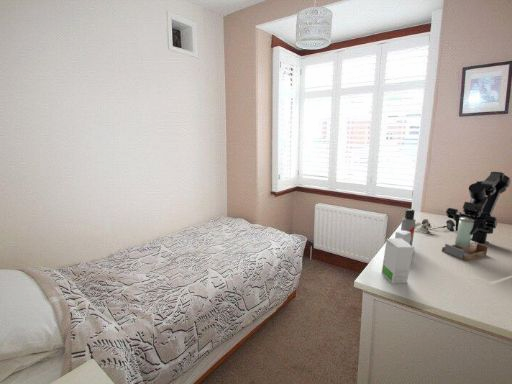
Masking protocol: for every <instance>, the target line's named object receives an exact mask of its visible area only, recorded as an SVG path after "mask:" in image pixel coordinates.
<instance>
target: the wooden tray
mask: <svg viewBox="0 0 512 384" xmlns="http://www.w3.org/2000/svg"><path fill="white" fill-rule="evenodd" d="M450 245H451V246H453V247H456V248H458V249H461V250H462V249H463V247H460V246H457V245H455V243H454V244H450ZM488 249H489V247H488V245H485V244H480V243H478V244H477V248H476V253H474V254H468V253H465V254H464V258H463V259H461V258H458V257H456V256H454V255H451V254H449V253H447V252H444V250H445V246H443V247H441V252H443V253H445V254H447V255H449V256H452V257H454V258H457V259H459V260H462V261H464V262H466V261H470V260H475V259H478V258H481V257H485V256H487V252H488Z"/></svg>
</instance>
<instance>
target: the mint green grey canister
mask: <svg viewBox="0 0 512 384" xmlns="http://www.w3.org/2000/svg"><path fill="white" fill-rule="evenodd" d="M474 221H475V220H474V219H473V218H469V217H460V218H459V224H458V229H457V231H456V237H455V241H454V244H455V245H457V246H460V247H465V248H468V247H469V245H470V240H471V238H472V235H470V233H471V231H472V229H473V225H474Z"/></svg>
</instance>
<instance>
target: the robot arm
mask: <svg viewBox="0 0 512 384" xmlns="http://www.w3.org/2000/svg"><path fill="white" fill-rule="evenodd" d="M510 185H511V177H509V176H507V175H505V172H502V171H491V172H490V174H489V175H488V176H487V177H486V178H485V179H484V180H480V181H476V182H475V183H471V184H470V185H469V186H468V192H469V196H470V198H471V199H470V201H464V202H463V206H462V209H463V210H462V211H463V212H464V213H463V212H461V211H459V210H458V208H453V207H449V208H446V210H445V213H446V217H447V218H448V219H451V220H453V221H455V232H457V229H458V224H459V218H460V217H469V218H473V219H474V220H475V221H474V225H473V229H472V231H471V233H470V235H471V241H475V242H477V243H480V244H482V245H485V244H490V242H489V241H487V239H488V235H491V234H494V229H496V228H497V227H498V218H497V217H496V216H493V215H492V213H493V211H494V209H495V206H496V204H497V203H498V200H499V197H500V195H501V194H502V193H504V192H506V191H507V189H508V188H509V187H510Z"/></svg>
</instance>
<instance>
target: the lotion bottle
mask: <svg viewBox="0 0 512 384" xmlns="http://www.w3.org/2000/svg"><path fill="white" fill-rule="evenodd" d="M415 223H417V222H416V219H415V209H412V208H409V209H405V214H404V217H402V219H401V227H400V231H401V230H405V231H409V232H411V238H410V245H411V246H412V247H413V241H414V235H415V230H416V229H415Z"/></svg>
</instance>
